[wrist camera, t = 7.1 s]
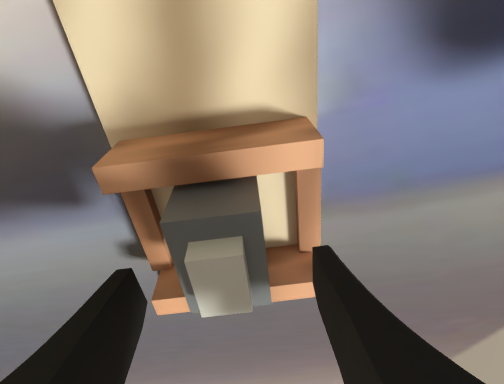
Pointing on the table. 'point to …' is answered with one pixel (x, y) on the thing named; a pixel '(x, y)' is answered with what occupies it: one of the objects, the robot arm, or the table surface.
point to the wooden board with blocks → (207, 117)
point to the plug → (218, 245)
